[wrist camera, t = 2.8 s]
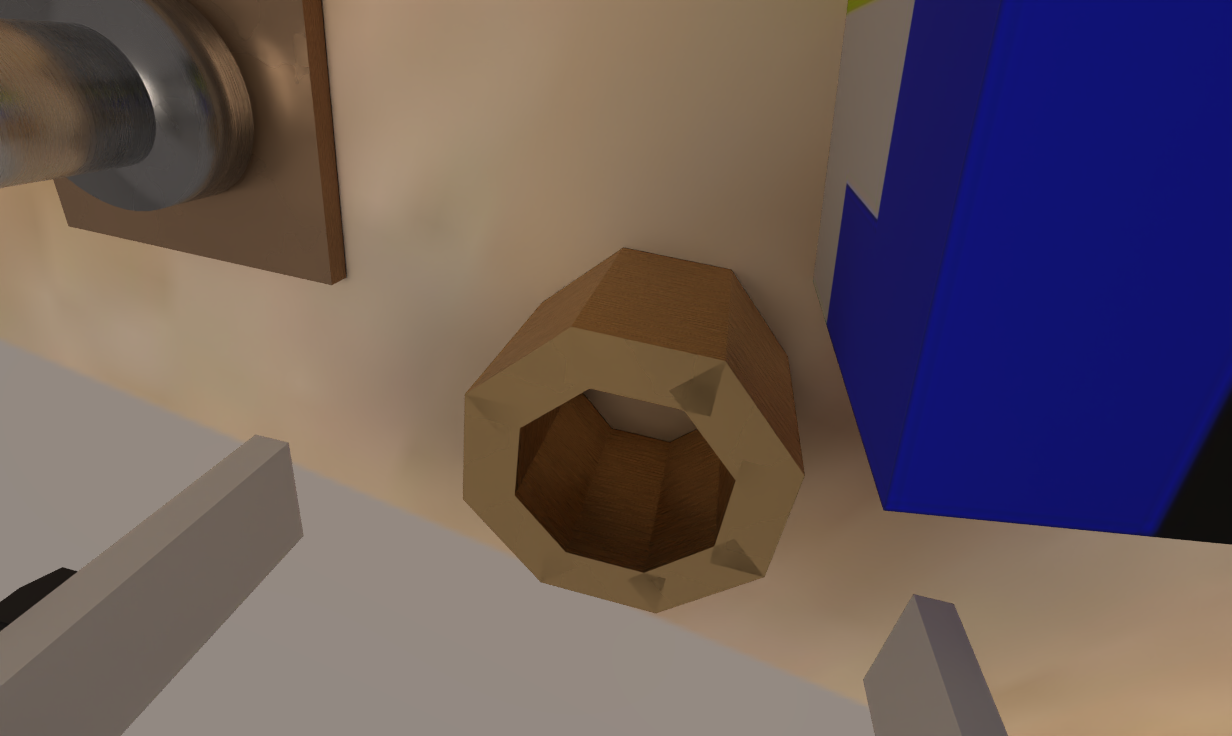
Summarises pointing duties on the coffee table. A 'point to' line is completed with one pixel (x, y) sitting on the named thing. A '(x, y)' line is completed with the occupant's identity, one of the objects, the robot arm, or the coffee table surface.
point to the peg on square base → (179, 125)
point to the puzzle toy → (1037, 259)
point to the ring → (638, 436)
